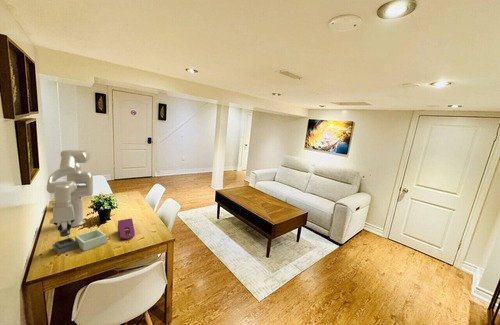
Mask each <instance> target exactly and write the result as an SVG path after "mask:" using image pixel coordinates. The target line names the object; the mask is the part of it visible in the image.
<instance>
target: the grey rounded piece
mask: <svg viewBox="0 0 500 325" xmlns="http://www.w3.org/2000/svg"><path fill="white" fill-rule="evenodd" d="M60 224H61V232H59V237H61V238H63V237H64V238H65V237H68V236H70V234H71V231H70V230H71V229H70V230H68V221H66V222H60Z"/></svg>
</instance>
